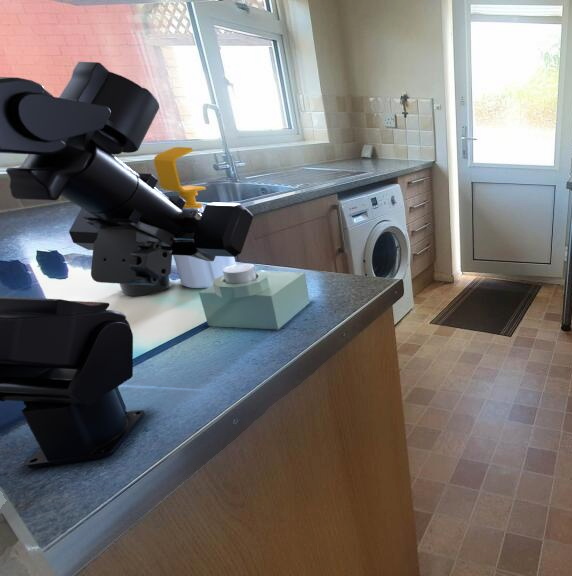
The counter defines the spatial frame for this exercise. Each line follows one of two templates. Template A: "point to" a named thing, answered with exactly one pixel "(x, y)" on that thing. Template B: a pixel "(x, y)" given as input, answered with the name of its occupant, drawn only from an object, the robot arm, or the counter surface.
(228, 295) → the push button box
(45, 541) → the counter surface
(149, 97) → the robot arm
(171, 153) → the soap bottle
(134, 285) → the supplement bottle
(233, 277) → the flush button
